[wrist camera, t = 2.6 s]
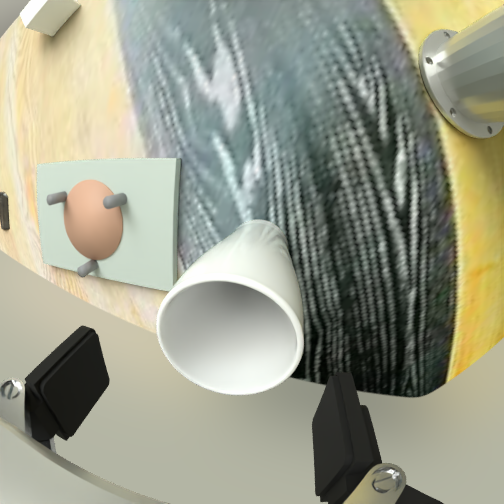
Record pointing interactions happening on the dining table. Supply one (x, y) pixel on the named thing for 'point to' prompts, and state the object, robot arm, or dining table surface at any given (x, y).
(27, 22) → the white cube
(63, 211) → the pin nest plate
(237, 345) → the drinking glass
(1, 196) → the block
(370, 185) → the dining table surface
